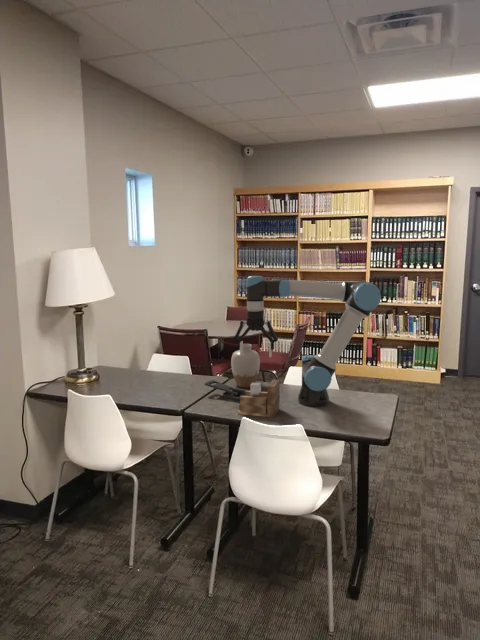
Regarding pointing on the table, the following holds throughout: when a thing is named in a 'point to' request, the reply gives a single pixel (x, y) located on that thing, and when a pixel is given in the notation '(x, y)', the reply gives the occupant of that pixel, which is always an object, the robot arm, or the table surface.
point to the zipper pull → (227, 391)
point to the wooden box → (261, 402)
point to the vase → (245, 366)
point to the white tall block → (255, 389)
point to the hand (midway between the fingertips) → (256, 356)
